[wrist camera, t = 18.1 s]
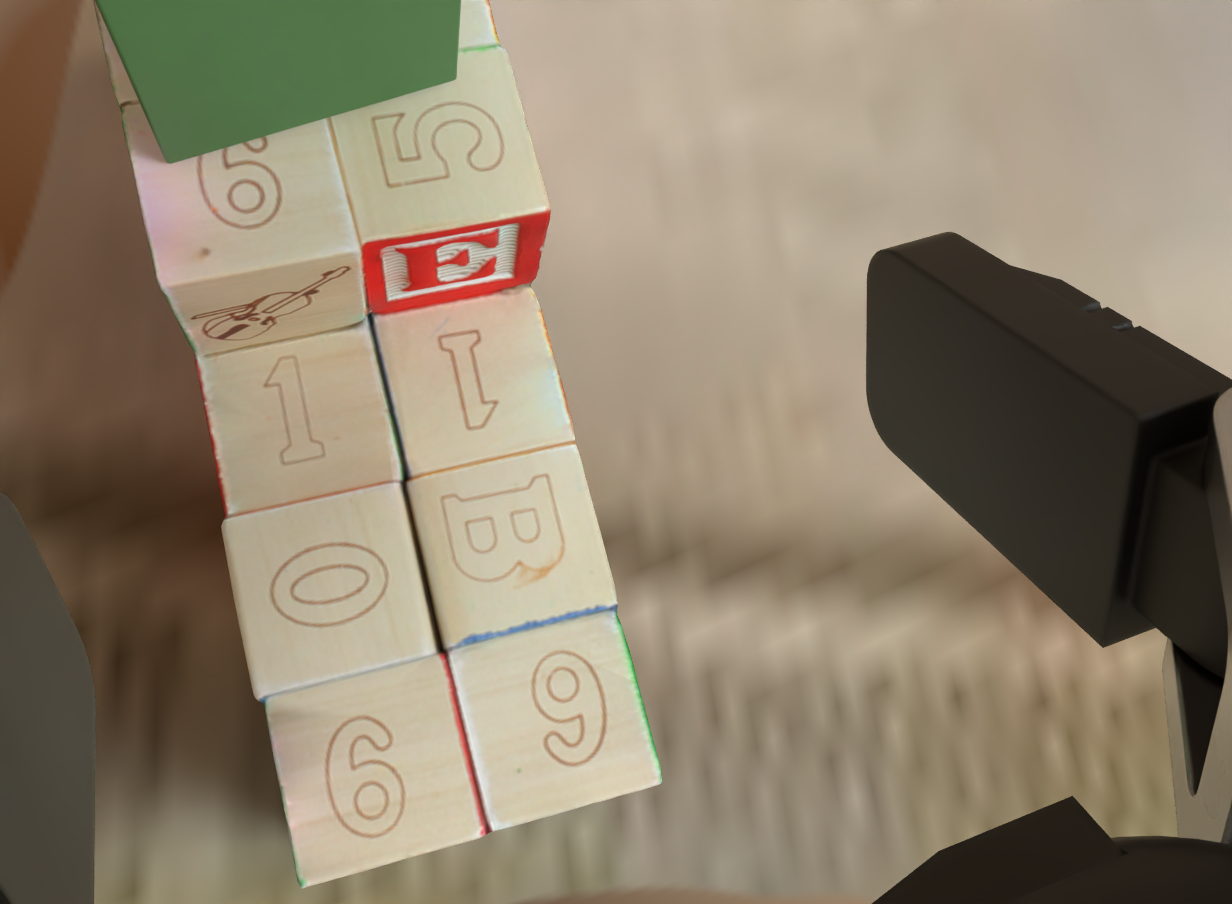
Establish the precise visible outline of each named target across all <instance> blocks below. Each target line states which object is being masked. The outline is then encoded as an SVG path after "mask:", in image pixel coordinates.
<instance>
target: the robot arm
mask: <svg viewBox="0 0 1232 904" xmlns="http://www.w3.org/2000/svg"><path fill="white" fill-rule="evenodd" d="M866 392H867V401H868V406H869V411H870V414H871V417H872V420H873V423H874V425H875V428H876V430H877V432H878V434H879V435H880V437H881V439H882V440H883V442H884V443H885V445H886V446H887V447H888V448H889V449H890V450H891V451H892V452H893V453H894V454H895V455H896V456H897V457H898V458H899V459H900V460H901V461H903V462H904V463H905V464H906V465H907V466H908V467H909V468H910V469H911V470H912V471H913V472H914V473H915V474H916V475H918V476H919V477H920V478H921V479H922V480H923V481H924V482H925V483H926V484H927V485H928V486H929V487H930V488H932V489H933V490H934V491H935V492H936V493H937V494H938V495H939V496H940V497H941V498H942V499H943V500H944V501H946V502H947V503H948V504H949V505H950V506H951V507H952V508H953V509H954V510H955V511H956V512H957V513H958V514H960V515H961V516H962V517H963V518H964V519H965V520H966V521H967V522H968V523H969V524H970V525H971V526H972V527H974V528H975V529H976V530H977V531H978V532H979V533H980V534H981V535H982V536H983V537H984V538H985V539H986V540H988V541H989V542H990V543H991V544H992V545H993V546H994V547H995V548H996V549H997V550H998V551H999V552H1000V553H1002V554H1003V555H1004V556H1005V557H1006V558H1007V559H1008V560H1009V561H1010V562H1011V563H1012V564H1013V565H1014V566H1016V567H1017V568H1018V569H1019V570H1020V571H1021V572H1022V573H1023V574H1024V575H1025V576H1026V577H1027V578H1028V579H1030V580H1031V581H1032V582H1033V583H1034V584H1035V585H1036V586H1037V587H1038V588H1039V589H1040V590H1041V591H1042V592H1043V593H1045V594H1046V595H1047V596H1048V597H1049V598H1050V599H1051V600H1052V601H1053V602H1054V603H1055V604H1056V605H1057V606H1059V607H1060V608H1061V609H1062V610H1063V611H1064V612H1065V613H1066V614H1067V615H1068V616H1069V617H1070V618H1071V619H1073V620H1074V621H1075V622H1076V623H1077V624H1078V625H1079V626H1080V627H1081V628H1082V629H1083V630H1084V631H1085V632H1087V633H1088V634H1089V635H1090V636H1091V637H1092V638H1093V639H1094V640H1095V641H1096V642H1097V643H1098V644H1099V645H1101V646H1102V647H1103V648H1104V647H1107V646H1109V645H1112V644H1114V643H1117V642H1120V641H1122V640H1125V639H1127V638H1130V637H1133V636H1135V635H1138V634H1141V633H1143V632H1146V631H1148V630H1151V629H1154V628H1157V629H1158V630H1160V631H1161V632H1162V633H1163V634H1164V635H1165V636H1167V637H1168V639H1167V644H1166V649H1165V654H1164V659H1163V668H1162V673H1163V683H1164V694H1165V704H1166V714H1167V725H1168V735H1169V745H1170V756H1171V766H1172V776H1173V787H1174V797H1175V807H1176V818H1177V830H1178V837H1167V836H1137V837H1116V838H1110V837H1109V836H1108V835H1107V834H1106V833H1105V831H1104V830H1103V829H1102V828H1101V827H1100V826H1099V825H1098V824H1097V823H1096V821H1095V820H1094V819H1093V818H1092V817H1091V816H1090V815H1089V814H1088V813H1087V811H1086V810H1085V809H1084V808H1083V807H1082V806H1081V805H1080V804H1079V803H1078V801H1077V800H1076V799H1075V798H1074V797H1073V796H1071V797H1069V798H1066V799H1064V800H1061V801H1059V802H1057V803H1054V804H1052V805H1049V806H1047V807H1044V808H1042V809H1040V810H1037V811H1035V812H1032V813H1030V814H1028V815H1025V816H1023V817H1020V818H1018V819H1015V820H1013V821H1011V822H1008V823H1006V824H1003V825H1001V826H998V827H996V828H994V829H991V830H989V831H986V832H984V833H982V834H979V835H977V836H974V837H972V838H969V839H967V840H965V841H962V842H960V843H957V844H955V845H953V846H950V847H948V848H945V849H943V850H940V851H938V852H937V853H936V854H935V855H933V856H932V857H931V858H929V859H928V860H927V861H926V862H924V863H923V864H922V865H921V866H919V867H918V868H917V869H915V870H914V871H913V872H912V873H910V874H909V875H908V876H907V877H905V878H904V879H903V880H901V881H900V882H899V883H898V884H896V885H895V886H894V887H893V888H891V889H890V890H889V891H887V892H886V893H885V894H884V895H882V896H881V897H880V898H879V899H877V900H876V901H875V902H873V903H872V904H1232V379H1230V378H1228V377H1226V376H1225V375H1223V374H1221V373H1220V372H1218V371H1216V370H1214V369H1213V368H1211V367H1209V366H1208V365H1206V364H1204V363H1202V362H1201V361H1199V360H1197V359H1196V358H1194V357H1192V356H1191V355H1189V354H1187V353H1185V352H1184V351H1182V350H1180V349H1179V348H1177V347H1175V346H1173V345H1172V344H1170V343H1168V342H1167V341H1165V340H1163V339H1161V338H1160V337H1158V336H1156V335H1155V334H1153V333H1151V332H1149V331H1148V330H1146V329H1144V328H1143V327H1141V326H1138V327H1135V328H1134V327H1133V325H1132V321H1131V320H1129V319H1127V318H1126V317H1124V316H1122V315H1120V314H1119V313H1117V312H1115V311H1114V310H1112V309H1110V308H1108V307H1106V308H1103V309H1102V308H1101V306H1100V302H1098V301H1096V300H1095V299H1093V298H1091V297H1090V296H1088V295H1086V294H1085V293H1083V292H1081V291H1079V290H1078V289H1076V288H1074V287H1073V286H1071V285H1069V284H1067V283H1066V282H1064V281H1062V280H1060V279H1056V278H1053V277H1049V276H1046V275H1042V274H1039V273H1035V272H1032V271H1028V270H1025V269H1021V268H1018V267H1014V266H1010V265H1008V264H1007V263H1005V262H1003V261H1002V260H1000V259H998V258H997V257H995V256H993V255H992V254H990V253H988V252H987V251H985V250H983V249H982V248H980V247H978V246H977V245H975V244H973V243H972V242H970V241H968V240H967V239H965V238H963V237H962V236H960V235H958V234H956V233H953V232H945V233H941V234H937V235H934V236H930V237H926V238H923V239H919V240H916V241H912V242H908V243H905V244H901V245H898V246H894V247H890V248H887V249H883V250H880V251H878V252H877V253H876V254H875V255H874V256H873V258H872V259H871V261H870V264H869V268H868V273H867V351H866ZM95 733H96V696H95V687H94V681H93V676H92V672H91V667H90V664H89V660H88V657H87V653H86V650H85V647H84V644H83V642H82V639H81V637H80V634H79V632H78V630H77V628H76V626H75V624H74V622H73V620H72V618H71V616H70V614H69V612H68V609H67V607H66V605H65V603H64V601H63V599H62V597H61V595H60V593H59V591H58V589H57V587H56V585H55V583H54V581H53V579H52V577H51V575H50V573H49V571H48V569H47V567H46V565H45V563H44V561H43V559H42V557H41V555H40V553H39V551H38V549H37V547H36V545H35V543H34V541H33V539H32V537H31V535H30V533H29V531H28V529H27V527H26V525H25V523H24V521H23V519H22V517H21V515H20V513H19V511H18V510H17V508H16V506H15V505H14V503H13V502H12V501H11V499H10V498H9V497H8V496H7V495H6V494H4V493H3V492H0V904H94V837H95Z"/></svg>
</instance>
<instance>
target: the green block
mask: <svg viewBox="0 0 1232 904" xmlns="http://www.w3.org/2000/svg"><path fill="white" fill-rule="evenodd" d="M95 2H96V5H97V7H98V9H99V11H100V14H101V16H102V18H103V21H104V23H105V25H106V27H107V30H108V32H109V34H110V36H111V39H112V41H113V43H114V45H115V48H116V50H117V52H118V55H119V57H120V59H121V61H122V64H123V66H124V68H125V70H126V73H127V75H128V77H129V80H130V82H131V84H132V86H133V89H134V91H135V93H136V95H137V98H138V100H139V102H140V104H141V107H142V109H143V111H144V114H145V116H146V118H147V120H148V123H149V125H150V127H151V129H152V132H153V134H154V136H155V138H156V141H157V143H158V145H159V148H160V150H161V152H162V154H163V157H164V159H165V161H166V162H167V163H168V164H172V163H175V162H179V161H182V160H185V159H189V158H192V157H196V156H199V155H202V154H206V153H209V152H213V151H216V150H219V149H223V148H226V147H230V146H233V145H236V144H240V143H243V142H247V141H250V140H253V139H257V138H260V137H264V136H267V135H270V134H274V133H277V132H281V131H284V130H287V129H291V128H294V127H298V126H301V125H304V124H308V123H311V122H314V121H318V120H321V119H325V118H328V117H331V116H335V115H338V114H342V113H345V112H348V111H352V110H355V109H359V108H362V107H365V106H369V105H372V104H376V103H379V102H382V101H386V100H389V99H393V98H396V97H399V96H403V95H406V94H410V93H413V92H416V91H420V90H423V89H426V88H430V87H433V86H437V85H440V84H443V83H447V82H450V81H454V80H455V79H456V78H457V63H458V46H459V29H460V12H461V0H95Z"/></svg>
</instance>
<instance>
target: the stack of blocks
mask: <svg viewBox="0 0 1232 904" xmlns="http://www.w3.org/2000/svg"><path fill="white" fill-rule="evenodd" d="M94 5H95V10H96V15H97V20H98V24H99V29H100V34H101V38H102V43H103V47H104V52H105V56H106V61H107V65H108V70H109V74H110V79H111V83H112V86H113V89H114V92H115V95H116V98H117V101H118V104H119V106H120V109H121V112H122V124H123V129H124V133H125V138H126V143H127V147H128V152H129V156H130V161H131V165H132V170H133V174H134V179H135V183H136V188H137V192H138V197H139V202H140V207H141V211H142V216H143V221H144V225H145V230H146V234H147V238H148V243H149V247H150V252H151V256H152V260H153V265H154V271H155V277H156V281H157V283H158V285H159V287H160V289H161V290H162V292H163V294H164V296H165V298H166V300H167V302H168V304H169V306H170V307H171V309H172V311H173V313H174V315H175V317H176V319H177V321H178V323H179V325H180V326H181V328H182V330H183V332H184V334H185V336H186V338H187V340H188V342H189V344H190V345H191V347H192V349H193V350H194V352H195V362H196V368H197V372H198V377H199V382H200V387H201V392H202V398H203V403H204V408H205V413H206V418H207V424H208V429H209V434H210V439H211V444H212V449H213V454H214V460H215V465H216V471H217V476H218V481H219V487H220V492H221V497H222V502H223V507H224V512H225V518H224V521H223V523H222V526H221V529H222V535H223V541H224V546H225V552H226V557H227V563H228V568H229V574H230V580H231V585H232V591H233V596H234V602H235V607H236V612H237V617H238V621H239V626H240V631H241V636H242V641H243V646H244V650H245V655H246V660H247V665H248V670H249V675H250V679H251V684H252V689H253V694H254V697H255V698H256V699H257V700H258V701H260V702H261V703H263V705H264V707H265V712H266V718H267V724H268V730H269V735H270V740H271V745H272V751H273V756H274V761H275V766H276V771H277V776H278V781H279V786H280V792H281V797H282V802H283V807H284V812H285V817H286V822H287V827H288V833H289V839H290V844H291V849H292V853H293V858H294V864H295V869H296V874H297V880H298V882H299V884H300V886H301V888H305V887H309V886H312V885H316V884H320V883H323V882H327V881H330V880H334V879H338V878H341V877H345V876H348V875H352V874H356V873H359V872H363V871H366V870H370V869H373V868H377V867H380V866H383V865H387V864H390V863H394V862H397V861H401V860H404V859H408V858H411V857H415V856H418V855H422V854H425V853H429V852H433V851H437V850H440V849H443V848H447V847H450V846H454V845H457V844H461V843H464V842H468V841H472V840H475V839H479V838H481V837H482V836H484V835H486V834H488V833H490V832H493V831H497V830H501V829H504V828H508V827H512V826H515V825H519V824H523V823H526V822H530V821H534V820H537V819H541V818H544V817H548V816H551V815H555V814H558V813H562V812H565V811H569V810H572V809H576V808H579V807H583V806H586V805H590V804H593V803H597V802H600V801H604V800H608V799H611V798H614V797H617V796H620V795H624V794H628V793H632V792H636V791H639V790H643V789H646V788H650V787H653V786H656V785H659V784H661V782H662V780H663V779H662V773H661V767H660V763H659V759H658V756H657V753H656V749H655V745H654V742H653V738H652V734H651V730H650V727H649V723H648V719H647V715H646V712H645V708H644V704H643V701H642V697H641V694H640V690H639V686H638V682H637V678H636V674H635V670H634V666H633V662H632V658H631V655H630V651H629V648H628V645H627V642H626V639H625V635H624V632H623V629H622V626H621V623H620V621H619V618H618V616H617V605H618V600H617V595H616V590H615V585H614V581H613V578H612V574H611V570H610V567H609V563H608V559H607V555H606V552H605V548H604V544H603V540H602V536H601V533H600V529H599V525H598V522H597V518H596V514H595V510H594V507H593V503H592V499H591V496H590V492H589V488H588V484H587V481H586V477H585V473H584V469H583V465H582V462H581V458H580V454H579V451H578V449H577V447H576V443H575V436H574V429H573V423H572V418H571V416H570V413H569V410H568V405H567V401H566V397H565V393H564V389H563V386H562V382H561V378H560V375H559V371H558V368H557V365H556V361H555V358H554V355H553V351H552V347H551V344H550V340H549V336H548V333H547V329H546V326H545V322H544V318H543V315H542V311H541V308H540V305H539V303H538V300H537V297H536V295H535V293H534V292H533V290H532V289H531V283H532V281H533V280H534V279H535V278H536V275H537V272H538V269H539V261H540V257H541V252H542V249H543V247H544V241H545V238H546V232H547V228H548V224H549V221H550V212H551V209H550V205H549V201H548V197H547V194H546V190H545V187H544V183H543V180H542V176H541V173H540V169H539V166H538V162H537V159H536V155H535V151H534V148H533V144H532V140H531V137H530V133H529V130H528V126H527V122H526V119H525V115H524V112H523V108H522V105H521V101H520V97H519V94H518V90H517V86H516V83H515V79H514V75H513V72H512V68H511V64H510V61H509V57H508V53H507V52H506V50H505V49H504V48H503V47H502V46H501V45H500V44H499V40H498V37H497V33H496V29H495V24H494V20H493V16H492V11H491V7H490V3H489V0H461V12H460V29H459V46H458V63H457V78H456V79H455V80H454V81H450V82H447V83H443V84H440V85H437V86H433V87H430V88H426V89H423V90H420V91H416V92H413V93H410V94H406V95H403V96H399V97H396V98H393V99H389V100H386V101H382V102H379V103H376V104H372V105H369V106H365V107H362V108H359V109H355V110H352V111H348V112H345V113H342V114H338V115H335V116H331V117H328V118H325V119H321V120H318V121H314V122H311V123H308V124H304V125H301V126H298V127H294V128H291V129H287V130H284V131H281V132H277V133H274V134H270V135H267V136H264V137H260V138H257V139H253V140H250V141H247V142H243V143H240V144H236V145H233V146H230V147H226V148H223V149H219V150H216V151H213V152H209V153H206V154H202V155H199V156H196V157H192V158H189V159H185V160H182V161H179V162H175V163H172V164H168V163H167V162H166V161H165V159H164V157H163V154H162V152H161V150H160V148H159V145H158V143H157V141H156V138H155V136H154V134H153V132H152V129H151V127H150V125H149V123H148V120H147V118H146V116H145V114H144V111H143V109H142V107H141V104H140V102H139V100H138V98H137V95H136V93H135V91H134V89H133V86H132V84H131V82H130V80H129V77H128V75H127V73H126V70H125V68H124V66H123V64H122V61H121V59H120V57H119V55H118V52H117V50H116V48H115V45H114V43H113V41H112V39H111V36H110V34H109V32H108V30H107V27H106V25H105V23H104V21H103V18H102V16H101V14H100V11H99V9H98V7H97V5H96V2H95V0H94Z"/></svg>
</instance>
